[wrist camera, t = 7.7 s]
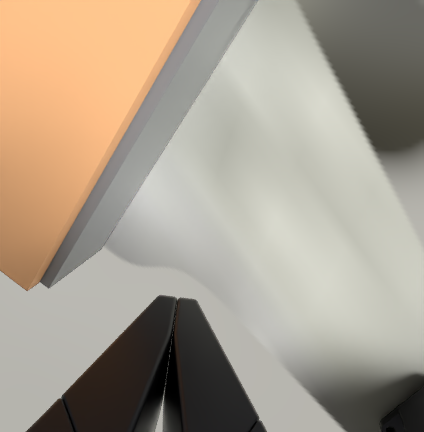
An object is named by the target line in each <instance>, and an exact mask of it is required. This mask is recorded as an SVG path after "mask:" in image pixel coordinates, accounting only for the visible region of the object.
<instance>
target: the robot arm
mask: <svg viewBox="0 0 424 432" xmlns="http://www.w3.org/2000/svg"><path fill="white" fill-rule="evenodd" d="M176 305H177V307H176ZM175 313H176V314H175ZM174 320H175V321H174ZM173 327H174V328H173ZM172 334H173V335H172ZM171 341H172V343H171ZM170 348H171V350H170ZM169 355H170V357H169ZM168 362H169V364H168ZM167 369H168V371H167ZM166 376H167V378H166ZM165 383H166V385H165ZM164 390H165V393H164ZM163 396H164V403H163V404H164V405H163V432H267V431H266V429H265V427H264V425H263V423H262V421H260V420H259V416H258V414H257V412H256V411H255V408H254V407H253V405H252V403H251V401H250V399H249V397H248V395H247V394H246V392H245V390H244V388H243V386H242V384H241V382H240V381H239V379H238V377H237V375H236V373H235V371H234V369H233V367H232V365H231V364H230V362H229V360H228V358H227V356H226V354H225V352H224V351H223V349H222V347H221V345H220V343H219V341H218V339H217V337H216V336H215V334H214V332H213V330H212V328H211V326H210V324H209V322H208V321H207V319H206V317H205V315H204V313H203V311H202V309H201V308H200V306H199V304H198V302H197V301H196V300H194V299H188V298H179V299H178V301H177V298H175V297H172V296H165V295H159V296H158V297H157V298H156V299H155V300H154V301H153V302H152V303H151V304H150V305H149V306H148V307H147V308H146V309H145V310H144V311H143V312H142V313H141V314H140V315H139V316H138V317H137V318H136V319H135V321H133V323H132V324H131V325H130V326H129V327H128V328H127V329H126V330H125V331H124V332H123V333H122V334H121V335H120V336H119V337H118V338H117V339H116V340H115V341H114V342H113V343H112V344H111V345H110V346H109V347H108V348H107V349H106V350H105V352H104V353H103V354H102V355H101V356H100V357H99V358H98V359H97V360H96V361H95V362H94V363H93V364H92V365H91V366H90V367H89V368H88V369H87V370H86V371H85V372H84V373H83V375H81V376H80V377H79V378H78V379H77V380H76V382H75V383H74V384H73V385H72V386H71V387H70V388H69V389H68V390H67V391H66V392H65V393H64V394H63V395H62V397H61V398H62V399H58V400H57V401H56V402H55V403H54V404H53V405H52V406H51V407H50V408H49V409H48V410H47V411H46V412H45V413H44V414H43V415H42V416H41V417H40V418H39V419H38V420H37V421H36V422H35V423H34V424H33V425H32V426H31V427H30V428H29V429H28V430H27V431H26V432H155V429H156V425H157V421H158V418H159V414H160V410H161V406H162V401H163ZM387 427H392V428H387ZM380 428H381V431H382V432H424V387H423V388H422V389H420V390H419V391H418V392H416V393H415V394H414V395H412V396H411V397H410V398H409V399H407V400H406V401H405V402H403V403H402V404H401V405H400V406H398V407H397V408H396V409H395V410H393V411H392V412H391V413H389V414H388V415H387V416H386V417H384V418H383V419H382V420H381V421H380Z"/></svg>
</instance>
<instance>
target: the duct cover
mask: <svg viewBox="0 0 424 432" xmlns="http://www.w3.org/2000/svg"><path fill="white" fill-rule="evenodd" d="M200 1H201V0H0V271H1V272H3V273H4V274H5V275H7V276H8V277H9V278H10V279H12V280H13V281H14V282H16V283H17V284H18V285H20V286H21V287H22V288H24V289H25V290H26V291H28V290H29V289H31V288H32V287H34V286H35V285H37V284H38V283H39V282H40V280H41V279H42V277H43V275H44V273H45V272H46V270H47V268H48V266H49V265H50V263H51V261H52V259H53V258H54V256H55V254H56V252H57V251H58V249H59V247H60V245H61V244H62V242H63V240H64V238H65V237H66V235H67V233H68V231H69V230H70V228H71V226H72V224H73V223H74V221H75V219H76V218H77V216H78V214H79V212H80V211H81V209H82V207H83V205H84V204H85V202H86V200H87V198H88V197H89V195H90V193H91V191H92V190H93V188H94V186H95V184H96V183H97V181H98V179H99V177H100V176H101V174H102V172H103V170H104V169H105V167H106V165H107V163H108V162H109V160H110V158H111V156H112V155H113V153H114V151H115V150H116V148H117V146H118V144H119V143H120V141H121V139H122V137H123V136H124V134H125V132H126V130H127V129H128V127H129V125H130V123H131V122H132V120H133V118H134V116H135V115H136V113H137V111H138V109H139V108H140V106H141V104H142V102H143V101H144V99H145V97H146V95H147V94H148V92H149V90H150V88H151V87H152V85H153V83H154V82H155V80H156V78H157V76H158V75H159V73H160V71H161V69H162V68H163V66H164V64H165V62H166V61H167V59H168V57H169V55H170V54H171V52H172V50H173V48H174V47H175V45H176V43H177V41H178V40H179V38H180V36H181V34H182V33H183V31H184V29H185V27H186V26H187V24H188V22H189V20H190V19H191V17H192V15H193V14H194V12H195V10H196V8H197V7H198V5H199V3H200Z"/></svg>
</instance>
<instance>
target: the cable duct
mask: <svg viewBox="0 0 424 432" xmlns="http://www.w3.org/2000/svg"><path fill="white" fill-rule="evenodd" d="M257 1H258V0H201V1H200V3H199V5H198V7H197V8H196V10H195V12H194V14H193V15H192V17H191V19H190V20H189V22H188V24H187V26H186V27H185V29H184V31H183V33H182V34H181V36H180V38H179V40H178V41H177V43H176V45H175V47H174V48H173V50H172V52H171V54H170V55H169V57H168V59H167V61H166V62H165V64H164V66H163V68H162V69H161V71H160V73H159V75H158V76H157V78H156V80H155V82H154V83H153V85H152V87H151V88H150V90H149V92H148V94H147V95H146V97H145V99H144V101H143V102H142V104H141V106H140V108H139V109H138V111H137V113H136V115H135V116H134V118H133V120H132V122H131V123H130V125H129V127H128V129H127V130H126V132H125V134H124V136H123V137H122V139H121V141H120V143H119V144H118V146H117V148H116V150H115V151H114V153H113V155H112V156H111V158H110V160H109V162H108V163H107V165H106V167H105V169H104V170H103V172H102V174H101V176H100V177H99V179H98V181H97V183H96V184H95V186H94V188H93V190H92V191H91V193H90V195H89V197H88V198H87V200H86V202H85V204H84V205H83V207H82V209H81V211H80V212H79V214H78V216H77V218H76V219H75V221H74V223H73V224H72V226H71V228H70V230H69V231H68V233H67V235H66V237H65V238H64V240H63V242H62V244H61V245H60V247H59V249H58V251H57V252H56V254H55V256H54V258H53V259H52V261H51V263H50V265H49V266H48V268H47V270H46V272H45V273H44V275H43V277H42V279H41V280H40V282H41V283H42V284H43V285H45V286H46V287H48V288H50V287H51V286H53V285H54V284H56V283H57V282H58V281H60V280H61V279H62V278H64V277H65V276H66V275H67V274H69V273H70V272H72V271H73V270H74V269H76V268H77V267H78V266H80V265H81V264H82V263H84V262H85V261H86V260H88V259H89V258H90V257H91V256H93V255H94V254H96V252H98V251H100V250H101V249H102V247H103V246H104V244H105V242H106V241H107V239H108V238H109V236H110V234H111V233H112V231H113V230H114V228H115V227H116V225H117V223H118V222H119V220H120V219H121V217H122V215H123V214H124V212H125V211H126V209H127V207H128V206H129V204H130V203H131V201H132V200H133V198H134V196H135V195H136V193H137V192H138V190H139V188H140V187H141V185H142V184H143V182H144V181H145V179H146V177H147V176H148V174H149V173H150V171H151V169H152V168H153V166H154V165H155V163H156V161H157V160H158V158H159V157H160V155H161V154H162V152H163V150H164V149H165V147H166V146H167V144H168V142H169V141H170V139H171V138H172V136H173V134H174V133H175V131H176V130H177V128H178V127H179V125H180V123H181V122H182V120H183V119H184V117H185V115H186V114H187V112H188V111H189V109H190V107H191V106H192V104H193V103H194V101H195V100H196V98H197V96H198V95H199V93H200V92H201V90H202V88H203V87H204V85H205V84H206V82H207V81H208V79H209V77H210V76H211V74H212V73H213V71H214V69H215V68H216V66H217V65H218V63H219V61H220V60H221V58H222V57H223V55H224V54H225V52H226V50H227V49H228V47H229V46H230V44H231V42H232V41H233V39H234V38H235V36H236V34H237V33H238V31H239V30H240V28H241V27H242V25H243V23H244V22H245V20H246V19H247V17H248V15H249V14H250V12H251V11H252V9H253V8H254V6H255V4H256V3H257Z"/></svg>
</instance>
